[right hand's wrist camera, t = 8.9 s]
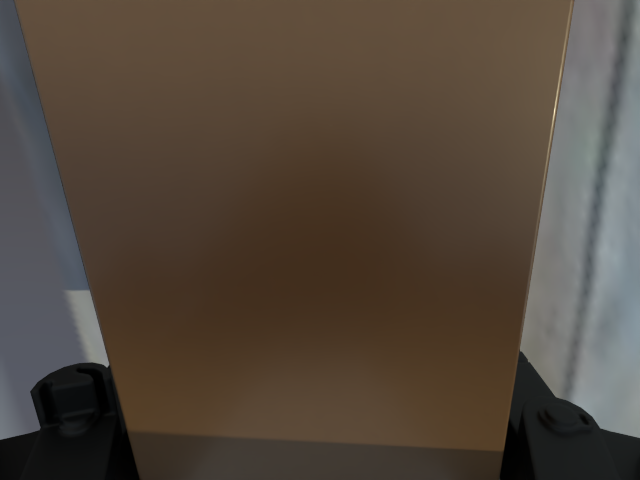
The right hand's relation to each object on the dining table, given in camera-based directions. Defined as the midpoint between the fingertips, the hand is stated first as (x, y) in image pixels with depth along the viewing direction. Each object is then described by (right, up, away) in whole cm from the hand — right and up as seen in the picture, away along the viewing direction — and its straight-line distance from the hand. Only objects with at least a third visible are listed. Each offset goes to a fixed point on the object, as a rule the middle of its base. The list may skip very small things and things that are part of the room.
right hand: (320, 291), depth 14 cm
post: (-1, +30, -11) cm, 31 cm away
